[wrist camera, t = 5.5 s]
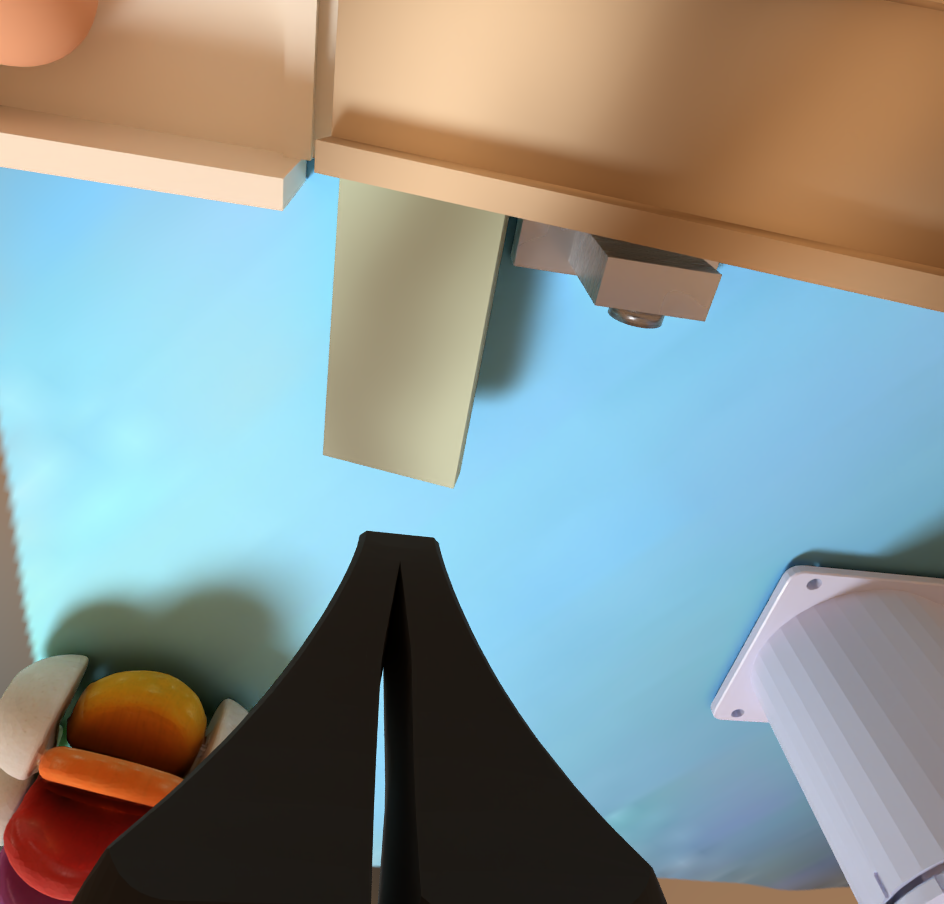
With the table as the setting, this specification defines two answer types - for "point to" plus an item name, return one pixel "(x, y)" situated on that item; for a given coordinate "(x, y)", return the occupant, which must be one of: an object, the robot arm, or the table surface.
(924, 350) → the table surface
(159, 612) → the table surface
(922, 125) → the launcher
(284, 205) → the tan shallow rectangular box
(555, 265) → the mount
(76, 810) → the colorful rounded pieces cluster
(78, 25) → the ball
